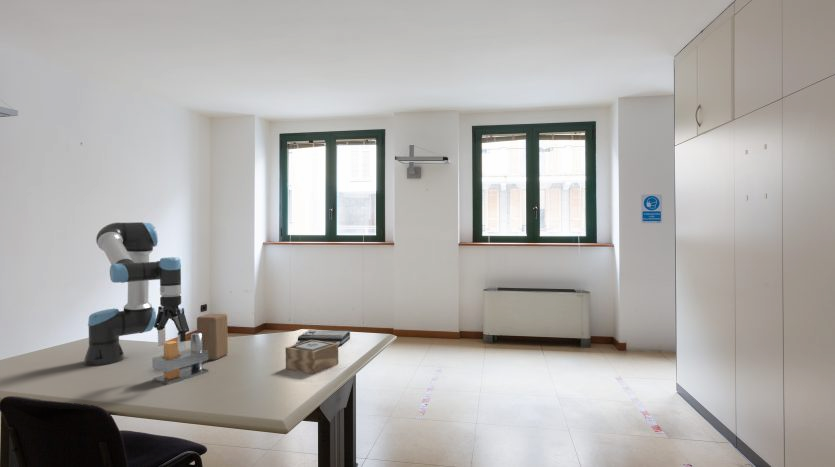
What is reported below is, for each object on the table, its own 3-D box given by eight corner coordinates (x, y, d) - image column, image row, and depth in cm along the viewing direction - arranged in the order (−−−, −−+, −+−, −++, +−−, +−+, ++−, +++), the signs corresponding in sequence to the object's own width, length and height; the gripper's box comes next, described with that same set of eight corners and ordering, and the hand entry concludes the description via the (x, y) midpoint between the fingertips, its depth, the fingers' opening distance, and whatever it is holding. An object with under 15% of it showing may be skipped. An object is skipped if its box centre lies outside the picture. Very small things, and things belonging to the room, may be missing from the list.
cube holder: (285, 368, 197) (285, 347, 197) (311, 358, 211) (311, 339, 210) (313, 373, 189) (313, 352, 189) (338, 363, 203) (338, 343, 202)
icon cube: (295, 369, 195) (295, 346, 195) (312, 363, 204) (312, 341, 204) (312, 373, 190) (312, 349, 190) (329, 366, 199) (328, 344, 199)
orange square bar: (164, 377, 184) (163, 342, 184) (173, 374, 187) (173, 340, 187) (169, 378, 182) (169, 344, 182) (179, 376, 185) (178, 341, 185)
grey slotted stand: (152, 380, 183) (152, 340, 182) (194, 368, 198) (193, 331, 198) (167, 384, 178) (166, 343, 177) (208, 371, 193) (208, 334, 193)
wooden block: (215, 360, 209) (214, 317, 209) (196, 359, 211) (195, 317, 211) (228, 354, 219) (228, 313, 219) (210, 353, 221) (209, 313, 221)
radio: (350, 329, 250) (339, 338, 230) (350, 339, 250) (339, 348, 230) (307, 328, 253) (293, 337, 233) (308, 338, 253) (293, 347, 233)
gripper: (144, 294, 187) (144, 345, 187) (180, 298, 175) (181, 353, 175) (162, 292, 194) (162, 341, 194) (198, 296, 181) (199, 349, 181)
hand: (171, 347), depth 184 cm, fingers open, 13 cm apart
